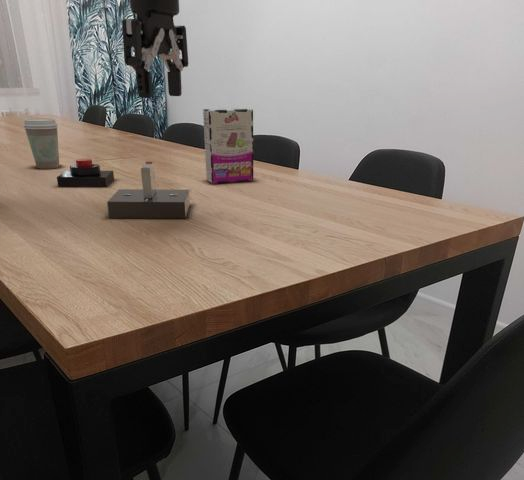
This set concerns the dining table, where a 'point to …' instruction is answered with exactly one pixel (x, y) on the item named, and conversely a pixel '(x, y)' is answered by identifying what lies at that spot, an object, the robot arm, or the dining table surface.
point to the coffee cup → (43, 142)
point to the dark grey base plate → (149, 204)
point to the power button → (84, 162)
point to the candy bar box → (228, 144)
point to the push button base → (85, 177)
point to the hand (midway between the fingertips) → (160, 96)
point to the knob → (148, 179)
